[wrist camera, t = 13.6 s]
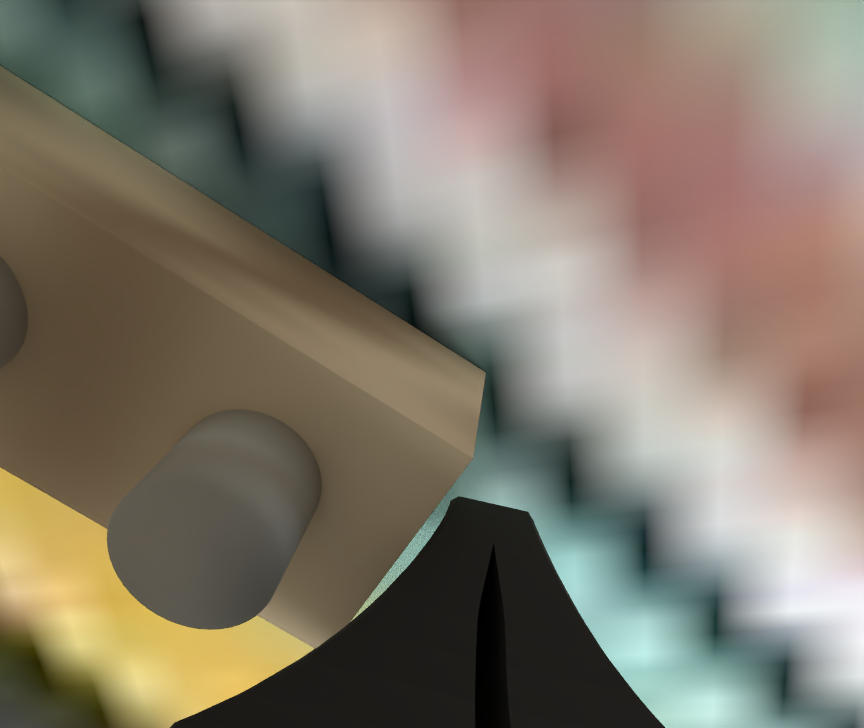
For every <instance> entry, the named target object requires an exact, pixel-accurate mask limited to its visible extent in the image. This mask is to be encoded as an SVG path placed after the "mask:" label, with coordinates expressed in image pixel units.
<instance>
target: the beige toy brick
mask: <svg viewBox="0 0 864 728" xmlns="http://www.w3.org/2000/svg"><path fill="white" fill-rule="evenodd" d="M485 375H486V372H484V371H483V370H481V369H480V368H478V367H476V366H475V365H473V364H472V363H470V362H469V361H467V360H465V359H464V358H462V357H461V356H459V355H457V354H456V353H454V352H453V351H451V350H450V349H448V348H446V347H445V346H443V345H442V344H440V343H438V342H437V341H435V340H434V339H432V338H431V337H429V336H427V335H426V334H424V333H423V332H421V331H419V330H418V329H416V328H415V327H413V326H412V325H410V324H408V323H407V322H405V321H404V320H402V319H400V318H399V317H397V316H396V315H394V314H393V313H391V312H389V311H388V310H386V309H385V308H383V307H382V306H380V305H378V304H377V303H375V302H374V301H372V300H370V299H369V298H367V297H366V296H364V295H363V294H361V293H359V292H358V291H356V290H355V289H353V288H351V287H350V286H348V285H347V284H345V283H344V282H342V281H340V280H339V279H337V278H336V277H334V276H332V275H331V274H329V273H328V272H326V271H325V270H323V269H321V268H320V267H318V266H317V265H315V264H313V263H312V262H310V261H309V260H307V259H306V258H304V257H302V256H301V255H299V254H298V253H296V252H294V251H293V250H291V249H290V248H288V247H287V246H285V245H283V244H282V243H280V242H279V241H277V240H275V239H274V238H272V237H271V236H269V235H268V234H266V233H264V232H263V231H261V230H260V229H258V228H256V227H255V226H253V225H252V224H250V223H249V222H247V221H245V220H244V219H242V218H241V217H239V216H237V215H236V214H234V213H233V212H231V211H230V210H228V209H226V208H225V207H223V206H222V205H220V204H219V203H217V202H215V201H214V200H212V199H211V198H209V197H207V196H206V195H204V194H203V193H201V192H200V191H198V190H196V189H195V188H193V187H192V186H190V185H188V184H187V183H185V182H184V181H182V180H181V179H179V178H177V177H176V176H174V175H173V174H171V173H169V172H168V171H166V170H165V169H163V168H162V167H160V166H158V165H157V164H155V163H154V162H152V161H150V160H149V159H147V158H146V157H144V156H143V155H141V154H139V153H138V152H136V151H135V150H133V149H131V148H130V147H128V146H127V145H125V144H124V143H122V142H120V141H119V140H117V139H116V138H114V137H112V136H111V135H109V134H108V133H106V132H105V131H103V130H101V129H100V128H98V127H97V126H95V125H93V124H92V123H90V122H89V121H87V120H86V119H84V118H82V117H81V116H79V115H78V114H76V113H74V112H73V111H71V110H70V109H68V108H67V107H65V106H63V105H62V104H60V103H59V102H57V101H55V100H54V99H52V98H51V97H49V96H48V95H46V94H44V93H43V92H41V91H40V90H38V89H37V88H35V87H33V86H32V85H30V84H29V83H27V82H25V81H24V80H22V79H21V78H19V77H18V76H16V75H14V74H13V73H11V72H10V71H8V70H6V69H5V68H3V67H2V66H0V467H1V468H3V469H4V470H6V471H8V472H9V473H11V474H13V475H15V476H16V477H18V478H20V479H22V480H23V481H25V482H27V483H29V484H30V485H32V486H34V487H36V488H37V489H39V490H41V491H42V492H44V493H46V494H48V495H49V496H51V497H53V498H55V499H56V500H58V501H60V502H62V503H63V504H65V505H67V506H68V507H70V508H72V509H74V510H75V511H77V512H79V513H81V514H82V515H84V516H86V517H88V518H89V519H91V520H93V521H95V522H96V523H98V524H100V525H101V526H103V527H105V528H107V529H108V532H107V545H108V552H109V556H110V560H111V562H112V565H113V568H114V570H115V572H116V574H117V576H118V577H119V579H120V580H121V582H122V583H123V585H124V586H125V587H126V589H127V590H128V591H129V592H130V593H131V594H132V595H133V596H134V597H135V598H136V599H137V600H138V601H139V602H140V603H141V604H143V605H144V606H145V607H146V608H148V609H149V610H151V611H152V612H154V613H155V614H157V615H159V616H161V617H163V618H165V619H167V620H169V621H171V622H174V623H177V624H180V625H183V626H187V627H191V628H197V629H210V630H211V629H224V628H230V627H233V626H237V625H240V624H242V623H244V622H246V621H249V620H250V619H252V618H253V617H255V616H256V615H258V616H259V617H261V618H263V619H265V620H266V621H268V622H270V623H272V624H273V625H275V626H277V627H278V628H280V629H282V630H284V631H285V632H287V633H289V634H291V635H292V636H294V637H296V638H298V639H299V640H301V641H303V642H304V643H306V644H308V645H310V646H311V647H313V648H315V649H316V648H317V647H318V646H320V645H321V644H322V643H324V642H325V641H326V640H328V639H329V638H330V637H332V636H333V635H335V634H336V633H337V632H339V631H340V630H341V629H343V628H344V627H345V626H346V625H348V624H349V623H350V621H351V620H352V619H353V617H354V616H355V615H356V613H357V612H358V611H359V609H360V608H361V607H362V605H363V604H364V603H365V601H366V600H367V599H368V597H369V596H370V595H371V593H372V592H373V591H374V589H375V588H376V587H377V585H378V584H379V583H380V581H381V580H382V579H383V577H384V576H385V575H386V573H387V572H388V571H389V569H390V568H391V567H392V565H393V564H394V563H395V561H396V560H397V559H398V557H399V556H400V555H401V553H402V552H403V551H404V549H405V548H406V547H407V546H408V544H409V543H410V542H411V540H412V539H413V538H414V536H415V535H416V534H417V532H418V531H419V530H420V528H421V527H422V526H423V524H424V523H425V522H426V520H427V519H428V518H429V516H430V515H431V514H432V512H433V511H434V510H435V508H436V507H437V506H438V504H439V503H440V502H441V500H442V499H443V498H444V496H445V495H446V494H447V492H448V491H449V490H450V488H451V487H452V486H453V484H454V483H455V482H456V480H457V479H458V478H459V476H460V475H461V474H462V472H463V471H464V470H465V468H466V467H467V466H468V464H469V463H470V462H471V460H472V459H473V455H474V449H475V442H476V435H477V428H478V422H479V415H480V408H481V402H482V395H483V388H484V381H485Z"/></svg>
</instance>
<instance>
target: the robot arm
mask: <svg viewBox="0 0 864 728" xmlns="http://www.w3.org/2000/svg"><path fill="white" fill-rule="evenodd" d="M170 728H665V727H664V726H663V725H662V724H661V722H660V721H659V720H658V719H657V718H656V717H655V716H654V715H653V714H652V713H651V711H650V710H649V709H648V708H647V707H646V706H645V704H644V703H643V702H642V701H641V700H640V699H639V697H638V696H637V695H636V694H635V693H634V691H633V690H632V689H631V687H630V686H629V685H628V683H627V682H626V681H625V680H624V678H623V677H622V676H621V674H620V673H619V672H618V671H617V669H616V668H615V667H614V665H613V664H612V663H611V661H610V660H609V659H608V657H607V656H606V654H605V653H604V651H603V650H602V649H601V647H600V646H599V644H598V643H597V641H596V639H595V638H594V636H593V635H592V633H591V631H590V630H589V628H588V627H587V625H586V624H585V622H584V620H583V619H582V617H581V615H580V614H579V612H578V610H577V609H576V607H575V605H574V603H573V601H572V600H571V598H570V596H569V594H568V592H567V590H566V589H565V587H564V585H563V583H562V581H561V579H560V578H559V576H558V574H557V572H556V570H555V568H554V566H553V564H552V562H551V559H550V557H549V555H548V553H547V551H546V549H545V547H544V545H543V542H542V540H541V538H540V535H539V533H538V531H537V528H536V526H535V523H534V521H533V519H532V517H531V516H530V514H529V513H528V512H526V511H522V510H518V509H513V508H509V507H504V506H500V505H495V504H491V503H486V502H482V501H477V500H473V499H468V498H464V497H457V498H455V499H453V500H451V501H450V505H449V508H448V510H447V512H446V514H445V516H444V518H443V520H442V522H441V523H440V525H439V526H438V528H437V529H436V531H435V532H434V534H433V535H432V537H431V538H430V540H429V541H428V542H427V543H426V545H425V546H424V547H423V549H422V550H421V551H420V552H419V554H418V555H417V556H416V558H415V559H414V560H413V561H412V562H411V564H410V565H409V566H408V567H407V568H406V569H405V570H404V571H403V572H402V573H401V575H400V576H399V577H398V578H397V579H396V580H395V581H394V582H393V583H392V584H391V585H390V586H389V587H388V588H387V590H386V591H385V592H384V593H383V594H382V595H380V596H379V597H378V598H377V599H376V600H375V601H374V602H373V603H372V604H371V605H370V606H369V607H368V608H366V609H365V610H364V611H363V612H362V613H361V614H360V615H358V616H357V617H356V618H355V619H354V620H352V621H351V622H350V623H349V624H348V625H346V626H345V627H344V628H343V629H341V630H340V631H339V632H337V633H336V634H335V635H333V636H332V637H330V638H329V639H328V640H326V641H325V642H324V643H322V644H321V645H320V646H318V647H317V648H316V649H314V650H313V651H311V652H310V653H308V654H307V655H305V656H304V657H302V658H301V659H299V660H298V661H296V662H294V663H293V664H291V665H289V666H287V667H286V668H284V669H282V670H281V671H279V672H277V673H275V674H274V675H272V676H270V677H269V678H267V679H265V680H264V681H262V682H260V683H258V684H257V685H255V686H253V687H252V688H250V689H248V690H246V691H244V692H242V693H240V694H238V695H236V696H234V697H232V698H229V699H227V700H225V701H223V702H221V703H219V704H216V705H214V706H212V707H210V708H208V709H205V710H203V711H201V712H199V713H197V714H195V715H192V716H190V717H187V718H185V719H182V720H180V721H177V722H175V723H174V724H173V725H172V726H171V727H170Z"/></svg>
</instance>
